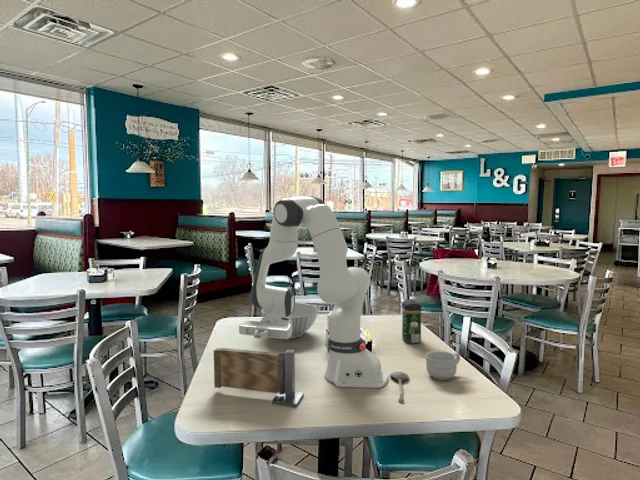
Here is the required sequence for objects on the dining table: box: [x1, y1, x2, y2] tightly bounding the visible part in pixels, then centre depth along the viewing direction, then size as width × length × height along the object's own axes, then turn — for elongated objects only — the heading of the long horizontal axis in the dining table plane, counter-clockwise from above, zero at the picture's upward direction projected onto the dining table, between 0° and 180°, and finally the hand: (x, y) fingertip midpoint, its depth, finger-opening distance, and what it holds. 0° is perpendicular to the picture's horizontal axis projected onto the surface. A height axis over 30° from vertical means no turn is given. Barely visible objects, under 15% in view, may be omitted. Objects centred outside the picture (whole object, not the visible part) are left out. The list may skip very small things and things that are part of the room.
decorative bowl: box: [260, 302, 319, 339], centre depth 196 cm, size 27×27×12 cm
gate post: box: [271, 349, 305, 408], centre depth 131 cm, size 8×8×16 cm
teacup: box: [425, 350, 461, 381], centre depth 149 cm, size 14×11×8 cm
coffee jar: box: [401, 298, 422, 345], centre depth 187 cm, size 10×8×19 cm
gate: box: [213, 347, 285, 394], centre depth 135 cm, size 24×2×13 cm, turn 76°
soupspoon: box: [389, 371, 409, 403], centre depth 141 cm, size 22×3×7 cm
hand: (257, 336), depth 151 cm, fingers closed
